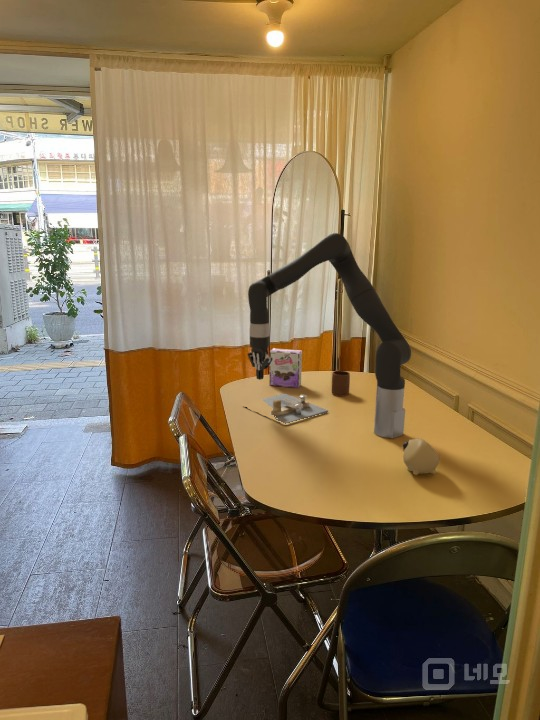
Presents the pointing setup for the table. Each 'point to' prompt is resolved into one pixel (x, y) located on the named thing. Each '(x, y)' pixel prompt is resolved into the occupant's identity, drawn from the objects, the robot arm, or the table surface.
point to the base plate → (291, 416)
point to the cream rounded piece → (420, 456)
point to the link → (284, 408)
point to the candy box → (285, 368)
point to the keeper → (295, 404)
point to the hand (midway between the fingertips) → (259, 378)
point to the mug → (340, 383)
